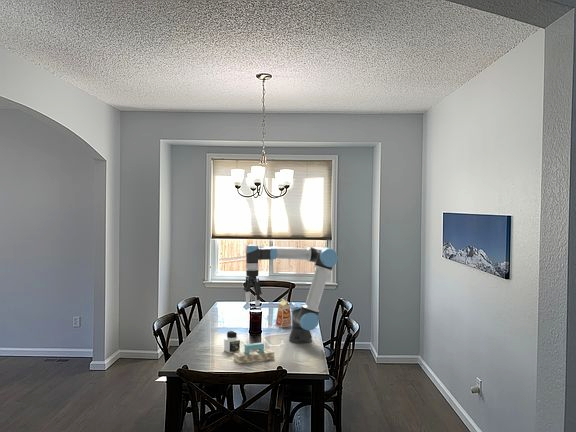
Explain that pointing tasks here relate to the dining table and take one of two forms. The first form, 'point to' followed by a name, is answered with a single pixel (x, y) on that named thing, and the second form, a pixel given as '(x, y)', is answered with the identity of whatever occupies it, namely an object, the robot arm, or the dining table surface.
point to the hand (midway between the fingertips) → (252, 303)
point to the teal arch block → (254, 347)
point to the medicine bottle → (231, 342)
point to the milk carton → (283, 314)
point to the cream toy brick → (253, 356)
